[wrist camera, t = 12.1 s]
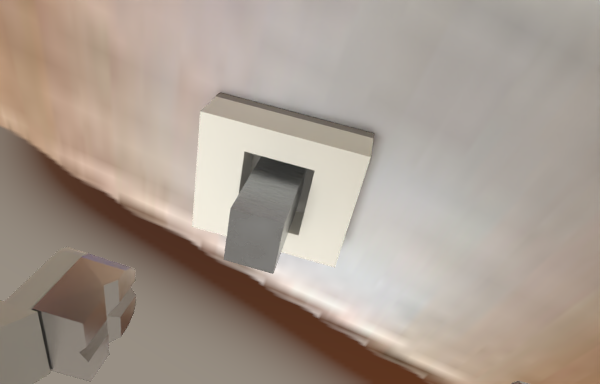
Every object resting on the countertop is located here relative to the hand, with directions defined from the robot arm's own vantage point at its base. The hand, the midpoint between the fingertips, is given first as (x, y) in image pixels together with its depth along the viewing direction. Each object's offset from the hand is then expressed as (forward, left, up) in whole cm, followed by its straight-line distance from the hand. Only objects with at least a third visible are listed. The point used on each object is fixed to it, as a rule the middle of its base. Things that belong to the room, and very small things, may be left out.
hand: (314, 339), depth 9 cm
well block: (+5, +14, -29) cm, 33 cm away
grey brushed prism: (+5, +14, -28) cm, 32 cm away
